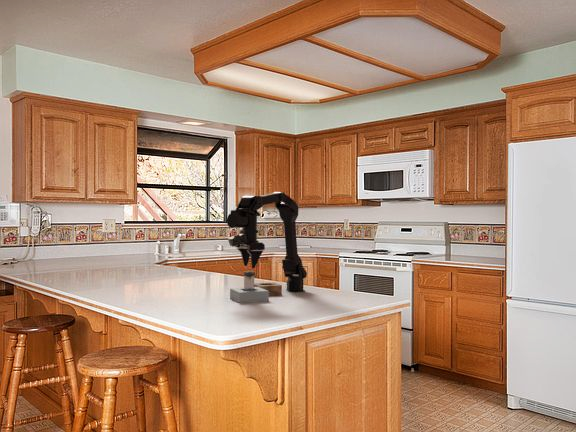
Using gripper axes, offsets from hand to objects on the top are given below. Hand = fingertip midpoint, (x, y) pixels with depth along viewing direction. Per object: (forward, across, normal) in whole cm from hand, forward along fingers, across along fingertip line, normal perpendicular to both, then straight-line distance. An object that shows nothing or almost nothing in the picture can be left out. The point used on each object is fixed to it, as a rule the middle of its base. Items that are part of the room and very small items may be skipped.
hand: (249, 267), depth 206 cm
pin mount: (+13, -12, +12) cm, 21 cm away
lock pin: (+13, 0, 0) cm, 13 cm away
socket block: (+13, 0, 0) cm, 13 cm away
